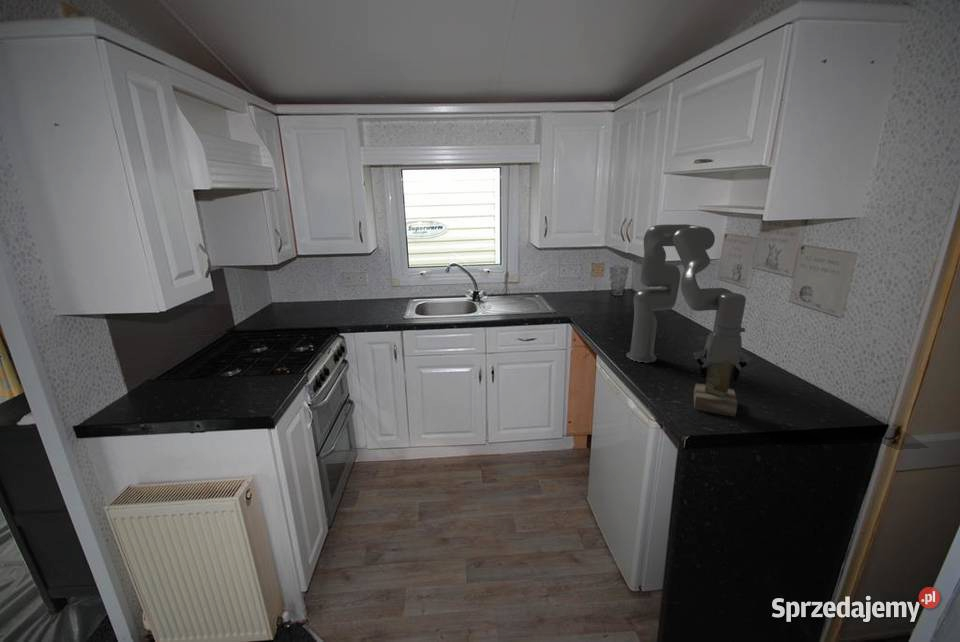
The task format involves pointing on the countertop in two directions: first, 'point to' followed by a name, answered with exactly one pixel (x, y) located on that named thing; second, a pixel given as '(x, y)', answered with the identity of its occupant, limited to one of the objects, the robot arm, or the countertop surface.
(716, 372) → the skincare box
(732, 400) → the birch block
